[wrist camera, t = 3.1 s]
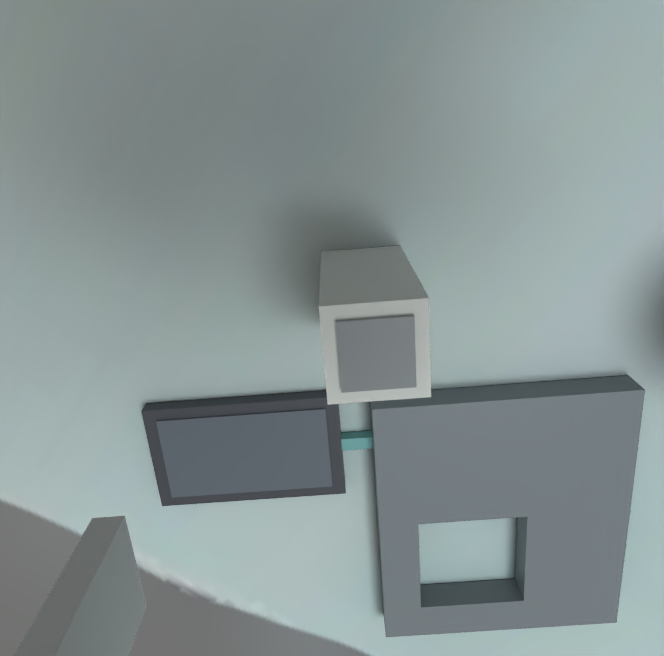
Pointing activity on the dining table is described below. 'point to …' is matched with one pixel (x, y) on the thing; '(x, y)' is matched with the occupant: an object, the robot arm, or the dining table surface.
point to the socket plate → (509, 499)
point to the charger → (373, 326)
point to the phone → (248, 447)
